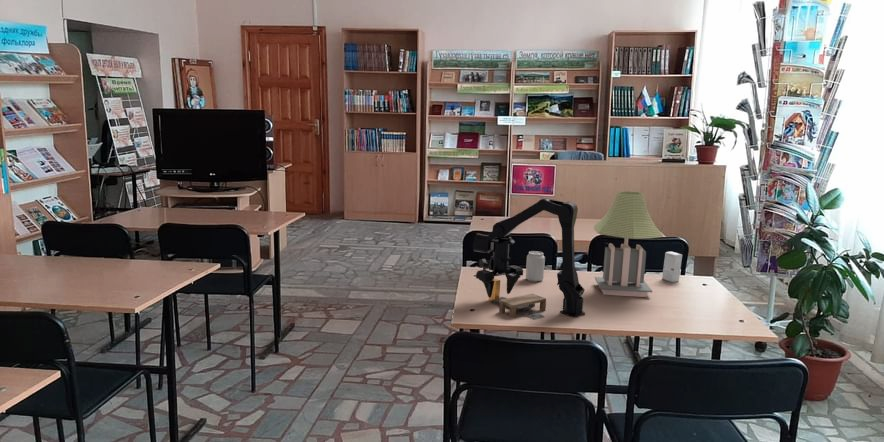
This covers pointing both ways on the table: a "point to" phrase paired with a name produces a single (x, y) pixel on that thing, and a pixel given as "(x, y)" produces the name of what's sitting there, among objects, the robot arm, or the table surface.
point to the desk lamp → (626, 245)
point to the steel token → (534, 315)
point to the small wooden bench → (521, 303)
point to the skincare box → (672, 266)
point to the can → (535, 266)
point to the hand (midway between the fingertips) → (498, 295)
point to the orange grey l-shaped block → (496, 299)
